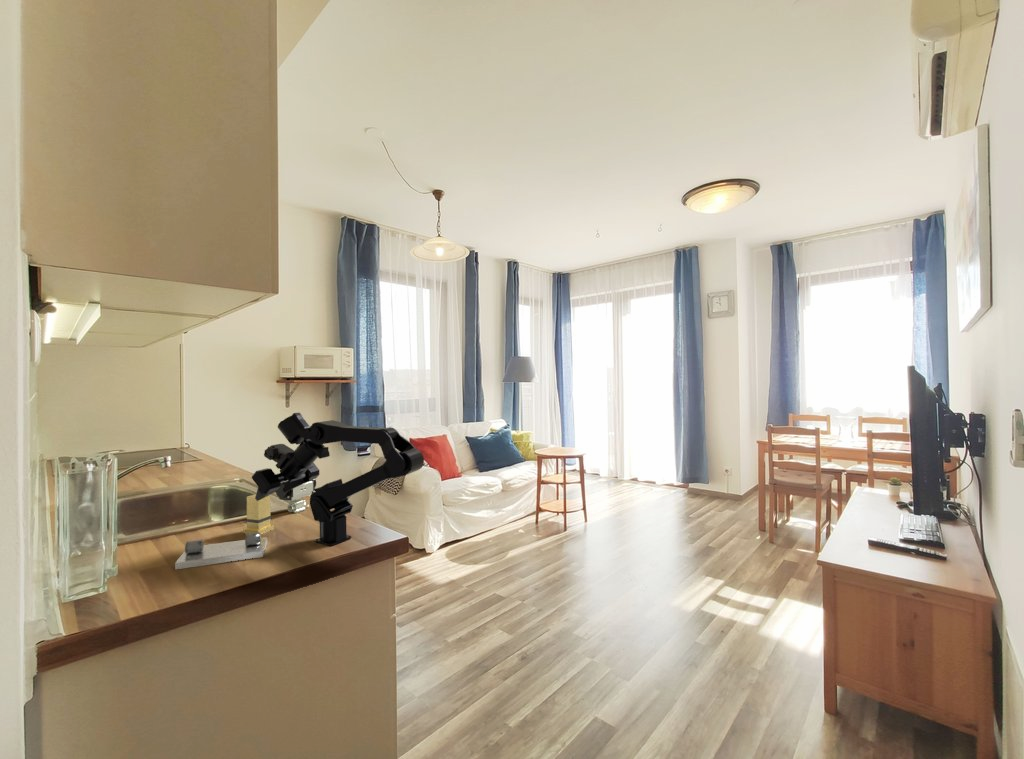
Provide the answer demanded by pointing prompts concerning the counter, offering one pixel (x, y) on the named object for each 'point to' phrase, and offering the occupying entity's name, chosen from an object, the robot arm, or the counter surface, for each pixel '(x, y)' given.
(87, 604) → the counter surface
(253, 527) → the yellow banded block
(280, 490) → the pneumatic valve
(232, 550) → the plate
